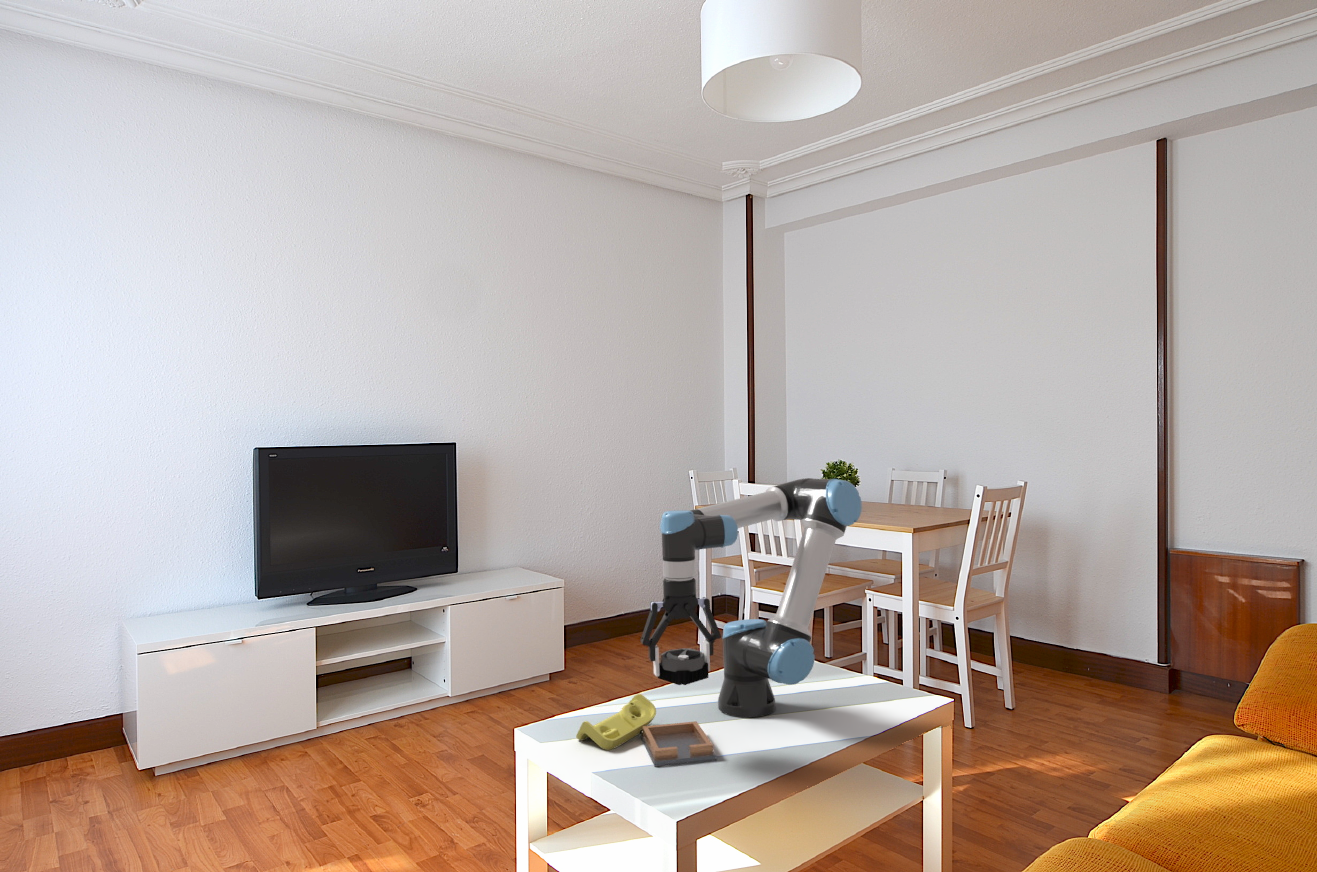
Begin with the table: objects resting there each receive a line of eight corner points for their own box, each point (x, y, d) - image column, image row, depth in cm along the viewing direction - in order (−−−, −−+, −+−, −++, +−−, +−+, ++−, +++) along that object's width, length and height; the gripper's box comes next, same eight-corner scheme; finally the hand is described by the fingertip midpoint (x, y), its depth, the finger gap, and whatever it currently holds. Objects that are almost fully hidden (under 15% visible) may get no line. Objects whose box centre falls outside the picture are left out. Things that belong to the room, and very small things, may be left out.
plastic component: (609, 743, 184) (580, 716, 189) (601, 768, 186) (573, 741, 192) (664, 712, 199) (635, 689, 204) (656, 735, 201) (628, 711, 207)
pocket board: (696, 731, 196) (696, 719, 196) (716, 760, 178) (715, 746, 178) (640, 736, 193) (640, 724, 193) (654, 766, 175) (654, 753, 175)
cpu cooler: (680, 662, 177) (651, 653, 184) (681, 688, 177) (651, 678, 184) (713, 653, 183) (684, 645, 191) (714, 677, 183) (684, 668, 191)
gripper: (723, 571, 191) (725, 662, 191) (625, 578, 185) (628, 672, 185) (733, 576, 184) (735, 671, 184) (632, 584, 178) (635, 681, 178)
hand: (681, 672), depth 184 cm, fingers closed on cpu cooler, 11 cm apart
